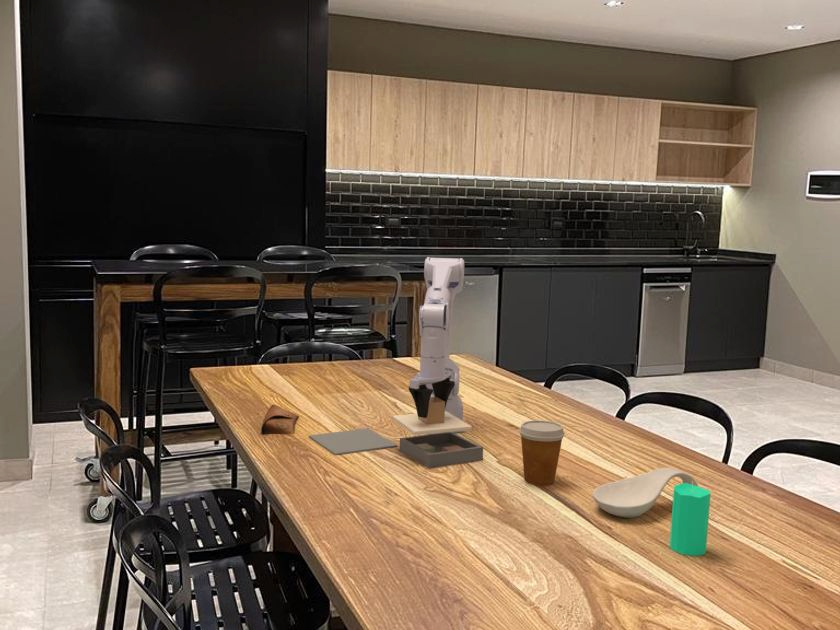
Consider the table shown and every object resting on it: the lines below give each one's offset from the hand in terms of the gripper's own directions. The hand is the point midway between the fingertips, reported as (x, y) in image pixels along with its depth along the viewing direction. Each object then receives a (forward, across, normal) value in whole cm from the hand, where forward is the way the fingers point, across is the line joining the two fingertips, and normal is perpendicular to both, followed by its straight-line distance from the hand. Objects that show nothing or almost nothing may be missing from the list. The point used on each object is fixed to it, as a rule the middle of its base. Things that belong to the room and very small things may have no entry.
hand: (431, 414), depth 191 cm
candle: (+10, +14, +65) cm, 67 cm away
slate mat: (+9, +5, -20) cm, 22 cm away
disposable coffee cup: (+10, 0, +29) cm, 30 cm away
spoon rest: (+10, 0, +52) cm, 53 cm away
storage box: (+9, -1, +3) cm, 10 cm away
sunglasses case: (+10, +6, -43) cm, 45 cm away
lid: (+2, 0, 0) cm, 2 cm away
